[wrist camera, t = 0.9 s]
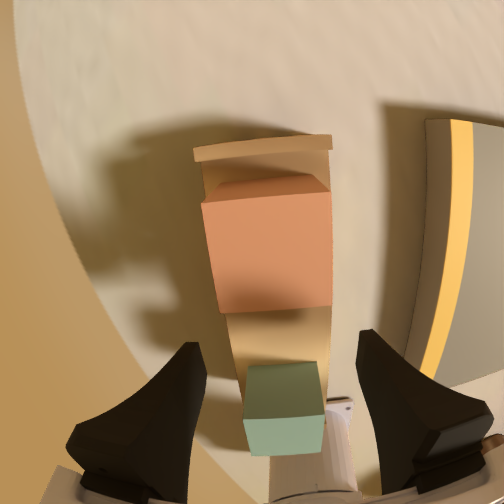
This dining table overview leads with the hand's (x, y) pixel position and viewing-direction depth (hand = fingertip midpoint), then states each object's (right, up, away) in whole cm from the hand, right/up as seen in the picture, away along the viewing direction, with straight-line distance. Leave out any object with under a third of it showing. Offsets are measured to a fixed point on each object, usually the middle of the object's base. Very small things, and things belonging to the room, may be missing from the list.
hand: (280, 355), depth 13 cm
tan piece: (0, +3, +7) cm, 7 cm away
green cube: (+1, -4, +5) cm, 6 cm away
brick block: (0, +6, +1) cm, 6 cm away
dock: (+16, +4, +5) cm, 17 cm away
